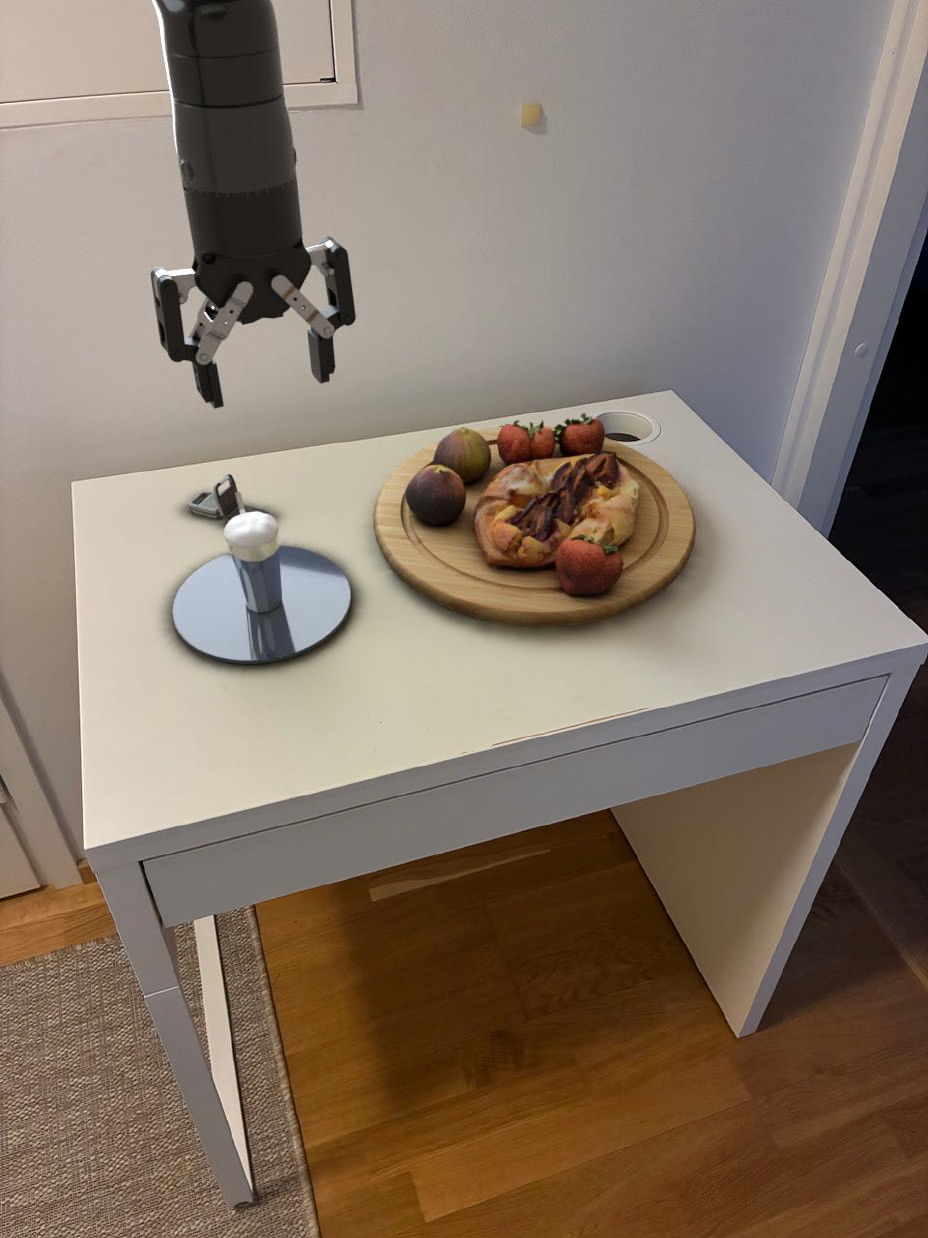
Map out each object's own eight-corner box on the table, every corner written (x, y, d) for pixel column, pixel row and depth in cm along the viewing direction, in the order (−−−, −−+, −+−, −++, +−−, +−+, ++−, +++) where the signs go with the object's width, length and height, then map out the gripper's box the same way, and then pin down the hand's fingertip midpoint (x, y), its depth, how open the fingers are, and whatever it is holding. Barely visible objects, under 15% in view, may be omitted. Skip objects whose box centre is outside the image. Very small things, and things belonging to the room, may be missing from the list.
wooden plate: (731, 627, 86) (750, 554, 80) (373, 641, 84) (367, 567, 78) (655, 437, 109) (665, 371, 104) (374, 445, 108) (370, 378, 102)
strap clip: (186, 511, 98) (178, 476, 95) (204, 495, 100) (196, 461, 97) (256, 532, 96) (249, 497, 93) (273, 516, 98) (267, 481, 95)
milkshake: (277, 575, 90) (263, 485, 83) (296, 609, 86) (282, 518, 79) (229, 588, 88) (211, 498, 81) (246, 624, 85) (228, 532, 78)
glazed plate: (198, 688, 80) (197, 683, 79) (155, 577, 90) (154, 572, 90) (377, 632, 85) (377, 627, 84) (317, 533, 95) (317, 528, 95)
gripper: (318, 140, 68) (336, 352, 79) (116, 168, 63) (164, 390, 74) (360, 170, 64) (373, 391, 74) (145, 202, 58) (192, 435, 69)
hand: (269, 390), depth 74 cm, fingers open, 8 cm apart
